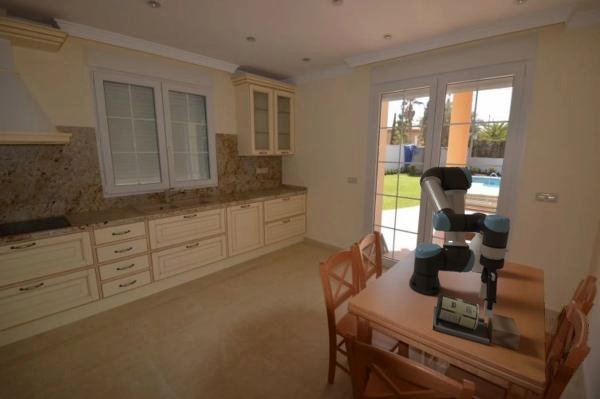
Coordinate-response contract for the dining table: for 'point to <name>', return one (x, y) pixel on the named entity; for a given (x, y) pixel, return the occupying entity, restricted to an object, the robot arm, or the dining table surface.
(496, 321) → the ledge block
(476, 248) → the bottle
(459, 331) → the tray mat
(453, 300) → the coffee can
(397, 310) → the dining table surface
